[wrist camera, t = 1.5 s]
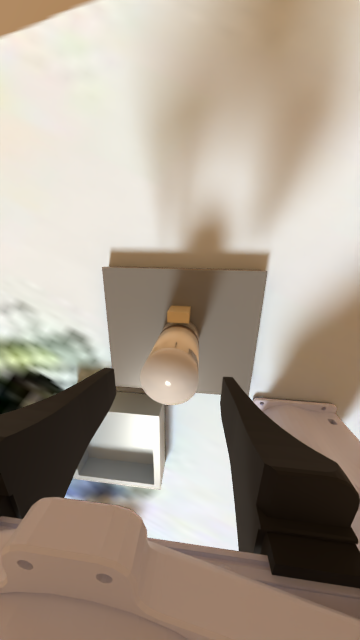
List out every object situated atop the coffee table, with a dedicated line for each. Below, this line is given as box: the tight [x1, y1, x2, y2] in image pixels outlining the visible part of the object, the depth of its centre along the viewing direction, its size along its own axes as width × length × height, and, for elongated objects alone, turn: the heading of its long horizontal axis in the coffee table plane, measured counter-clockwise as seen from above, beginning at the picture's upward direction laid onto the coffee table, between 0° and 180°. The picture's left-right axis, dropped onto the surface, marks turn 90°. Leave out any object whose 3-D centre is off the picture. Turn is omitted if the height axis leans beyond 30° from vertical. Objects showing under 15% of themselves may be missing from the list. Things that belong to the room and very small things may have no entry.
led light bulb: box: [140, 321, 199, 405], centre depth 17 cm, size 4×4×8 cm
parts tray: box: [73, 392, 165, 490], centre depth 26 cm, size 12×12×4 cm
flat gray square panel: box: [102, 267, 267, 396], centre depth 20 cm, size 16×14×4 cm
